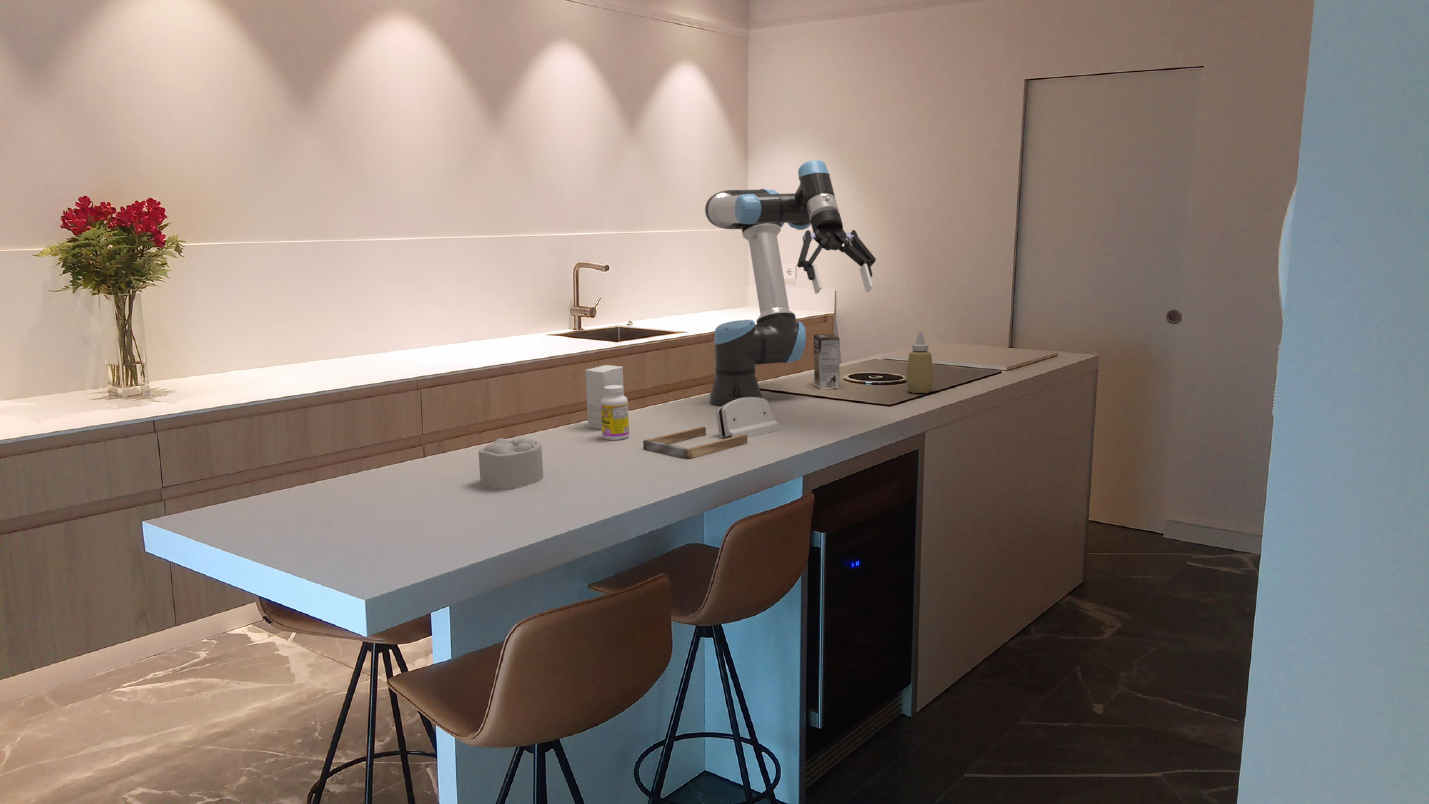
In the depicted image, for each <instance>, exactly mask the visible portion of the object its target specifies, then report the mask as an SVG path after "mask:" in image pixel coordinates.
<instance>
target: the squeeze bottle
mask: <svg viewBox="0 0 1429 804" xmlns="http://www.w3.org/2000/svg"><path fill="white" fill-rule="evenodd" d="M911 347H912V348H911V350H912V351H910V352H909V353H908V358H907V359H908V360H907V366H906V367H907V368H906V369H907V370H906V377H905V382H906V385H907V389H908V391H909V393H911V392H912V394H915V393H925V394H929V393H930V392H931V389H932V386H933V384H934V381H935V380H934V379H935V378H934V372H933V371H934V370H933V369H934V368H933V367H934V366H933V358H932V353H931V352H930V351H929V344H927V343H926V344H925V339H924V333H923V332H918V334H917V337H916V341H915V344H912V345H911Z"/></svg>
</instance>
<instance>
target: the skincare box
mask: <svg viewBox="0 0 1429 804" xmlns="http://www.w3.org/2000/svg"><path fill="white" fill-rule="evenodd" d="M610 385H621V386H623V390H625V389H624V367H623V366H621V365H619V366H618V365H609V364H604V365H601V366H595V367H593V368H586V369H585V386H586V387H585V388H586V389H585V390H586V406H587V407H586V408H587V425H588V428H589V429H595V430H601V431H602V415H601V400H602V398H603V397H605V392H604V387H605V386H610ZM624 393H625V391H623V396H625V394H624Z"/></svg>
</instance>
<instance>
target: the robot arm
mask: <svg viewBox="0 0 1429 804" xmlns="http://www.w3.org/2000/svg"><path fill="white" fill-rule="evenodd" d="M797 173H798V174H797V175H798V180H799V186H798V187H797V190H796V191H795V192H794V193H779V192H777V191H776V190H775V189H765V188H760V189H726V190H722V191H719V192H717V193H714V194H713V195H711V196H710V197H709V198H708V199H707V201H706V203H705V206H704V207H705V208H704V213H705V214H704V215H705V217H706V219H707V220H708V222H709V223H710V224H711V225H713V226H715V227H717V228H719V229H724V230H741V234H742V238H743V239H745V240H747V241H748V245H749V251H750V258H751V263H752V270H753V277H754V283H755V289H756V296H757V303H758V309H759V314H760V315H759V316H758V318H757V319H756V321H754V320H753V319H743V320H741V319H740V320H732V321H728V322H725V323H721V324H719V325H717V326H716V327H715V330H714V339H713V344H714V367H715V368H714V370H715V372H714V373H715V376H714V380H713V384H712V389H711V392H710V394H709V402H710V403H711V404H712V405H716V406H720V407H722V406H723V405H725V404H727V403H729V402H731V401H733V400H736V399H740V398H745V397H758V398H763V394H762V391H761V390H760V386H759V383H758V380H757V376H756V365H757V366H758V365H767V364H768V365H770V364H787V363H793V362H797V361H799V360H800V359H801V358H802V357H803V355H804V352H805V349H806V343H807V333H806V332H807V331H806V327H805V325H804V323H803V322H801V321H799V320H798V321H797V318H796V314H795V313H794V312H793V311H792V310H790V308H789V307H790V306H789V302H788V294H787V288H786V282H785V277H784V271H783V264H782V258H781V253H780V247H779V241H778V235H779V234H780V232H781V230H782V227H784V225H785V224H786V223H787V225H788V226H789V227H790V228H793V229H795V230H797V231H804V230H806V229H808V228H809V227H810V226H811V228H812V232H811V231H810V230H809V229H808V230H806V231H805V232H804V234H803V236H802V246H801V251H800V254H799V257H798V261H797V267H798V268H803V271H804V272H806V275H807V279H808V280H809V281H811V282H812V287H813V291H814V293H815V294H816V295H817V294H819V293H820V292H821V290H822V289H823V288H822V287H823V286H822V283H821V279H820V278H821V277H820V276H819V275H820V274H819V271H818V267H817V264H814V262H815V261H816V259H817V257H818V256H819V255H820V253H821V251H822V249H824V250H825V251H831V250H832V251H838V250H839V251H840V252H841V253H843V254H845V255H847V256H848V257H849V258H850V260H852V261H854V262H855V263H856V264H857V265H858V266H859V267H860V268H859V271H860V276H861V280H862V284H863V285H864V286H863V287H864V290H865V293H869V292H870V291H871V290H872V289H873V287H874V285H873V281H872V277H873V272H872V268H871V267H872V266H873V265H874V264H875V262H876V261H877V258H876V257H875V256H874V255H873V253H872V252H871V251H870V250H869V249H868V247H867V246H866V245H865V244H864V242H863V241H862V240H861V239H860V237H859V235H858V232H857V231H856V230H855V229H852V230H851V231H850V232H846V231H845V230H844V226H843V225H844V224H843V221H842V217H841V213H840V209H839V208H838V207H839V206H838V203H837V200H836V196H835V192H834V191H835V190H834V187H833V184H832V180H831V174H830V172H829V170H828V167H827V164H826V163H825V162H824V161H823V160H819V159H811V160H808V161H805V162H803V163H802V164H801V165H800V166H799V167H798V172H797ZM813 240H814V241H815V242H816V243H817V244H818V245H817V247H816V248H815V250H814V251H813V253H812V255H811V256H810V257H809V259H808V260H807V256H808V252H809V250H810V246H811V245H810V244H811V242H812V241H813ZM843 245H844V246H843Z"/></svg>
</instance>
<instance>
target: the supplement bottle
mask: <svg viewBox="0 0 1429 804" xmlns="http://www.w3.org/2000/svg"><path fill="white" fill-rule="evenodd" d="M623 387H624V385H623V386H621V385H610V386H605V387H604V392H605V397H603V398H602V400H601V415H602V430H601V433H602V435H601V436H602V438H603V439H605V440H608V441H620V440H625V439H627V438H629V436H630V422H629V421H630V420H629V419H630V418H629V400H628V397H626V396H625V395H624V396H623V391H624V390H625V389H624V390H623ZM624 392H625V391H624Z"/></svg>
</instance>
